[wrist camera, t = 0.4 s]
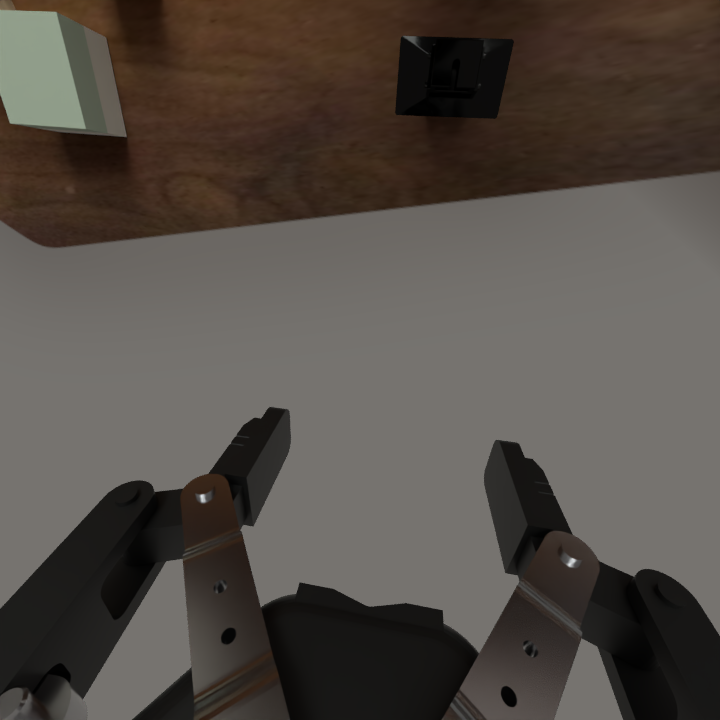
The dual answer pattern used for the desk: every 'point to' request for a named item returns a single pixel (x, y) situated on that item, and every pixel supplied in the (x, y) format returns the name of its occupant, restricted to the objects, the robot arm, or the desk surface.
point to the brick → (6, 5)
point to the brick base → (57, 75)
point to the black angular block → (451, 76)
